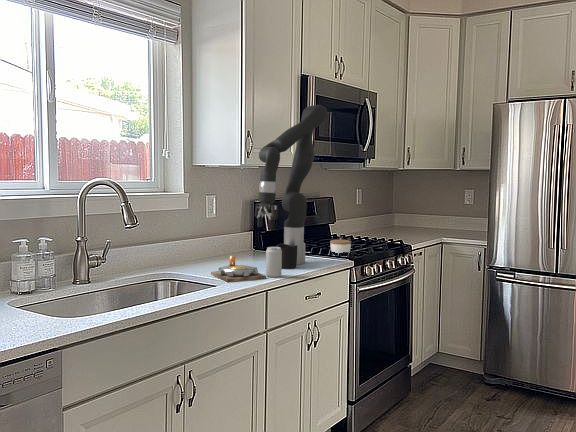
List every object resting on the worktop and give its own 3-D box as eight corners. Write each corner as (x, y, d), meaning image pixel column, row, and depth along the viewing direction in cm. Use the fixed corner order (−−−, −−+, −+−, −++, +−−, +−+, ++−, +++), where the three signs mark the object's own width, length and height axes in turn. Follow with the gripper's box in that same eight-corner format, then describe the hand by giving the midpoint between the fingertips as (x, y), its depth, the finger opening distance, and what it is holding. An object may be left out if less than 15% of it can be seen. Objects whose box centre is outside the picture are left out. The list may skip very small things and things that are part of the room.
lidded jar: (326, 254, 286) (326, 237, 285) (343, 253, 291) (343, 236, 290) (337, 258, 277) (337, 239, 276) (354, 256, 282) (355, 238, 281)
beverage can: (268, 278, 223) (268, 248, 222) (264, 275, 229) (264, 246, 228) (283, 277, 225) (283, 248, 224) (279, 274, 231) (279, 246, 230)
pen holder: (293, 265, 254) (293, 243, 253) (300, 268, 245) (300, 246, 244) (273, 266, 251) (274, 244, 250) (279, 269, 242) (280, 247, 241)
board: (248, 271, 237) (248, 268, 237) (266, 278, 222) (266, 275, 222) (210, 274, 229) (210, 271, 228) (226, 282, 214) (226, 279, 214)
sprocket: (247, 268, 236) (247, 254, 236) (264, 274, 222) (264, 260, 221) (212, 271, 228) (212, 256, 228) (227, 278, 214) (227, 262, 214)
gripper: (283, 192, 244) (281, 229, 245) (264, 191, 255) (262, 226, 256) (269, 192, 240) (267, 229, 240) (251, 190, 251) (249, 226, 252)
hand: (265, 227), depth 248 cm, fingers open, 8 cm apart
